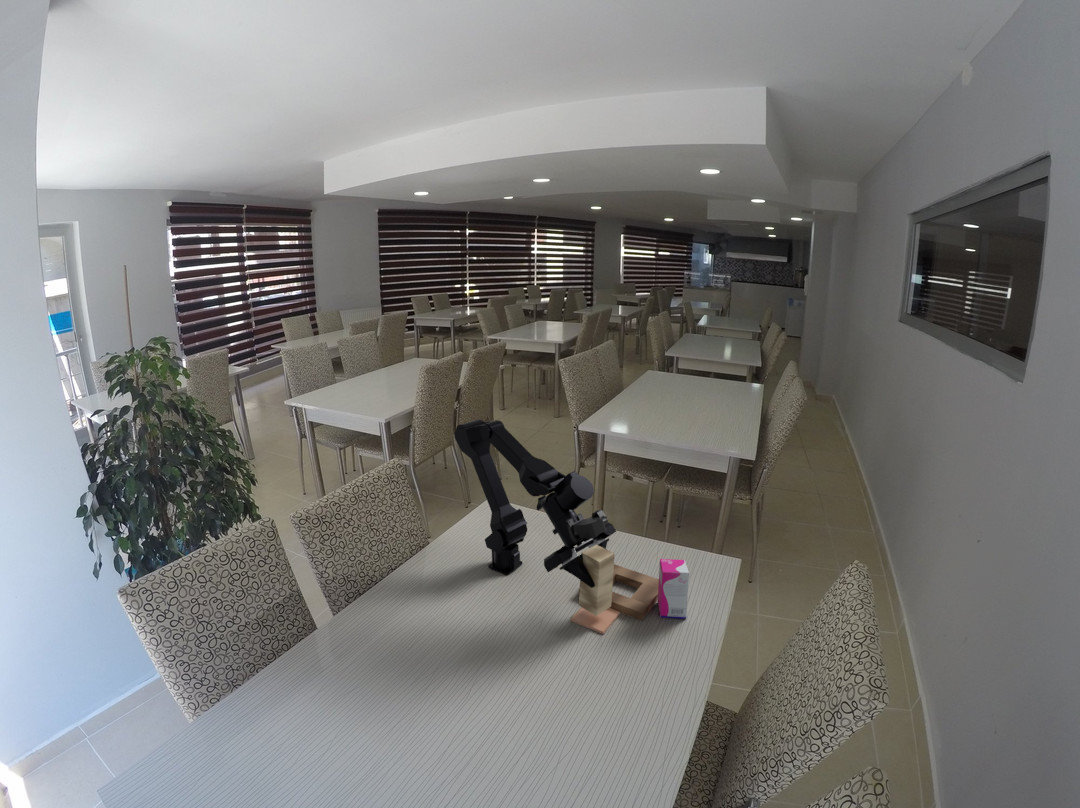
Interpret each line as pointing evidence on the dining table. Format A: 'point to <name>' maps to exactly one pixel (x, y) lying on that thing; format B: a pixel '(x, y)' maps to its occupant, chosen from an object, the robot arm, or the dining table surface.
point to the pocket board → (640, 599)
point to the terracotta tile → (596, 619)
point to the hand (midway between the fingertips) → (601, 581)
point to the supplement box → (673, 588)
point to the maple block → (597, 580)
